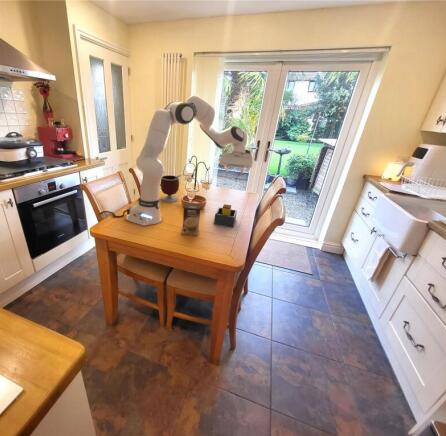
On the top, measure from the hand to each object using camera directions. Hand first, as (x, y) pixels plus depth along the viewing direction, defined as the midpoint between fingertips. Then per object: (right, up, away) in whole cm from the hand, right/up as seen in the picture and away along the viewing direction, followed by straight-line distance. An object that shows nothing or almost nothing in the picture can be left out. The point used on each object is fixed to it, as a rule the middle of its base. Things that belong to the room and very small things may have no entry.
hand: (234, 171), depth 145 cm
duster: (-5, -30, +2) cm, 31 cm away
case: (-5, -31, +2) cm, 32 cm away
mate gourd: (-41, -14, +35) cm, 56 cm away
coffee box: (-28, -37, -12) cm, 48 cm away
